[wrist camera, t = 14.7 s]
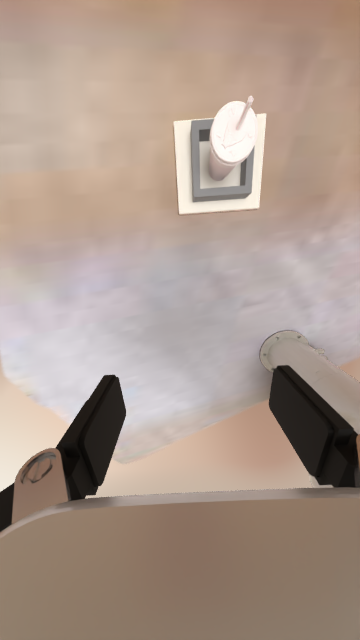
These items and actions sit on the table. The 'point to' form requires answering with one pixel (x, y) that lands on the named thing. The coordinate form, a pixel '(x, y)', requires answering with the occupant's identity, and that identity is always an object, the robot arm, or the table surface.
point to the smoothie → (231, 137)
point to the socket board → (196, 181)
